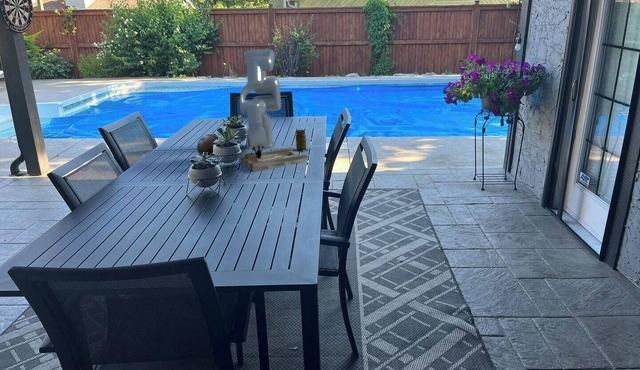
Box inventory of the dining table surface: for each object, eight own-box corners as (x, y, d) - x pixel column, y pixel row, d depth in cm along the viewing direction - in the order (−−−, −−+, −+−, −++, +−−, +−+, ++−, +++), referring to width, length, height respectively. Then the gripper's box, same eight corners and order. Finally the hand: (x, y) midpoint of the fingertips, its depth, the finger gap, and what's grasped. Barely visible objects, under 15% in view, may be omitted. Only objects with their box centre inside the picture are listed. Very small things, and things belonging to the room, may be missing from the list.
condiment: (302, 147, 298) (301, 128, 294) (311, 149, 292) (310, 130, 288) (293, 150, 294) (291, 130, 290) (301, 152, 288) (300, 132, 284)
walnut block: (245, 161, 268) (244, 154, 267) (253, 159, 270) (253, 152, 269) (248, 163, 264) (247, 156, 263) (257, 161, 266) (256, 154, 265)
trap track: (240, 163, 271) (239, 156, 270) (291, 153, 286) (291, 147, 284) (253, 172, 255) (253, 164, 253) (307, 161, 269) (307, 154, 268)
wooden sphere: (193, 162, 279) (189, 137, 274) (210, 155, 291) (207, 131, 286) (213, 164, 272) (210, 138, 267) (230, 157, 284) (227, 132, 279)
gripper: (265, 122, 270) (268, 154, 276) (240, 126, 263) (243, 159, 269) (270, 124, 263) (273, 157, 269) (245, 128, 257) (248, 162, 263)
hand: (258, 158), depth 269 cm, fingers closed
